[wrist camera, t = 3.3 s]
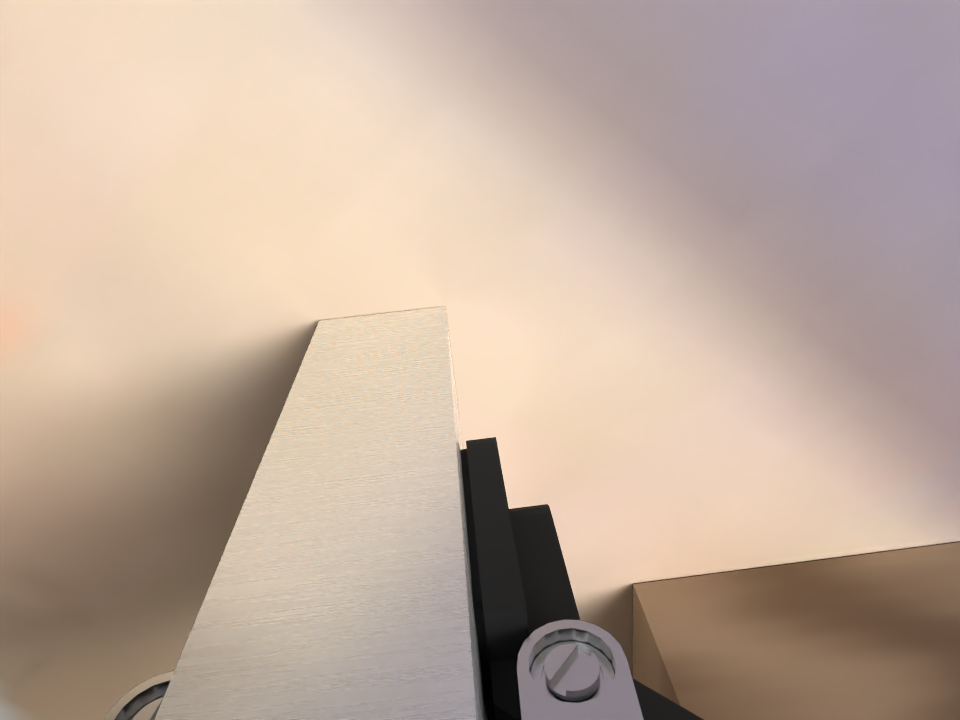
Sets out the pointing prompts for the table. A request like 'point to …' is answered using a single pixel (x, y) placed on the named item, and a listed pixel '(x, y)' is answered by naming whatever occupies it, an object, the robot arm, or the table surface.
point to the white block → (347, 547)
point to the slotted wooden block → (808, 639)
